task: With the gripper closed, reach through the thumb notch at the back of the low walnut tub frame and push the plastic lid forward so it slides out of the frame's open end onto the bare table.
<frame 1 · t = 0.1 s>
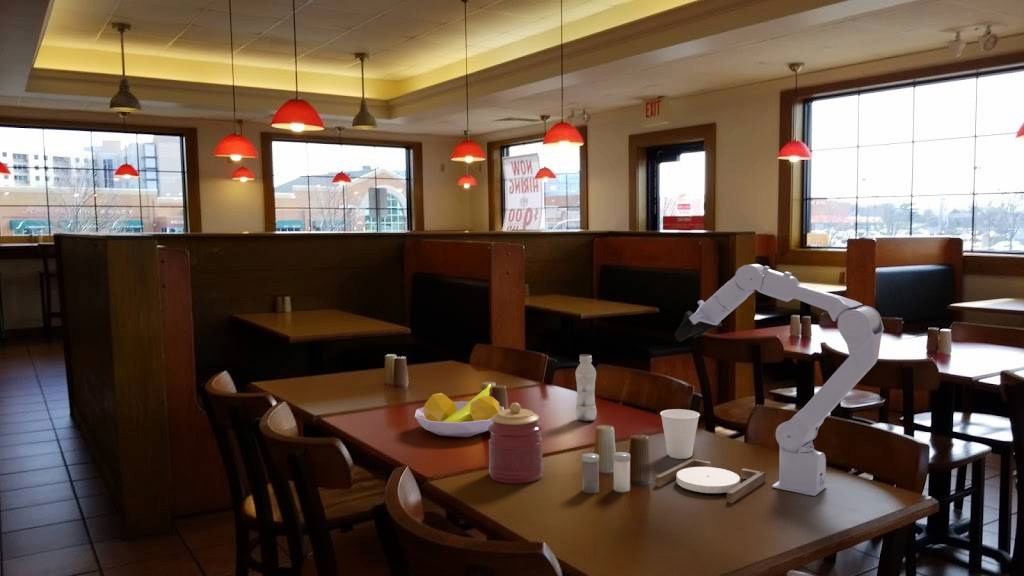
hand: (684, 336, 191), 32 cm above the table, tool tilted 50°, fingers open, 7 cm apart
tub frame: (709, 484, 178), on the table
canister: (516, 476, 186), on the table
plastic bottle: (586, 421, 238), on the table
salt shaker: (621, 489, 176), on the table
pepper shaker: (590, 490, 175), on the table
cup: (679, 456, 201), on the table
fruit bowl: (463, 431, 229), on the table
plastic lid: (707, 487, 177), on the table
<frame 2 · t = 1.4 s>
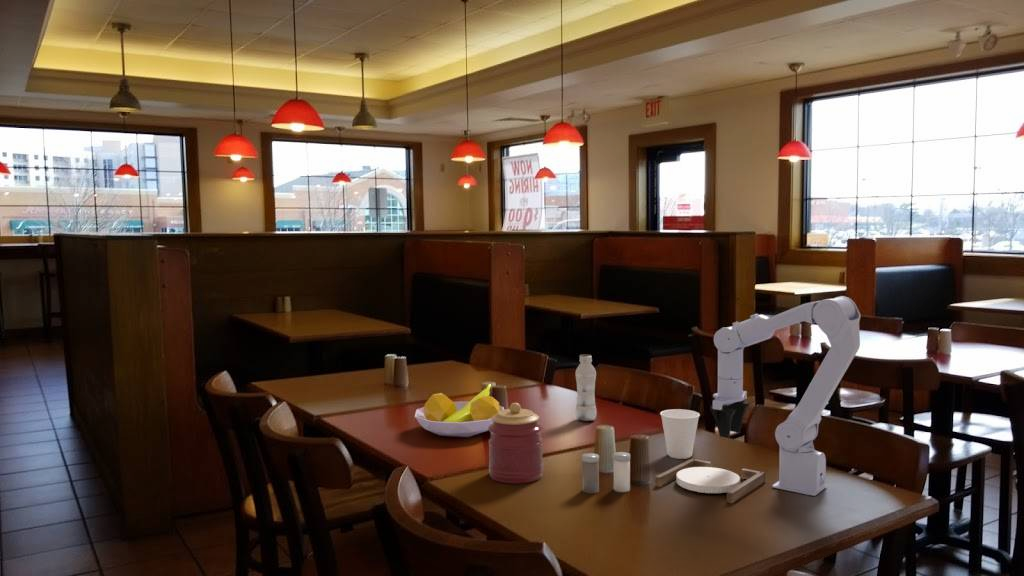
hand: (729, 434, 185), 9 cm above the table, tool pointing down, fingers open, 5 cm apart
nothing on the table moved.
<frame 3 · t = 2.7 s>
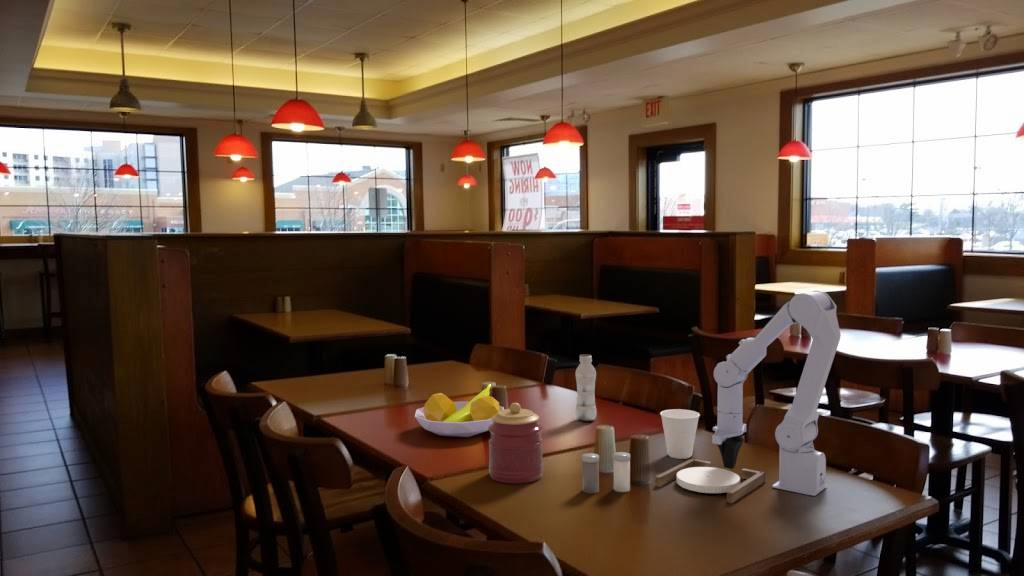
hand: (729, 467, 186), 1 cm above the table, tool pointing down, fingers closed
nothing on the table moved.
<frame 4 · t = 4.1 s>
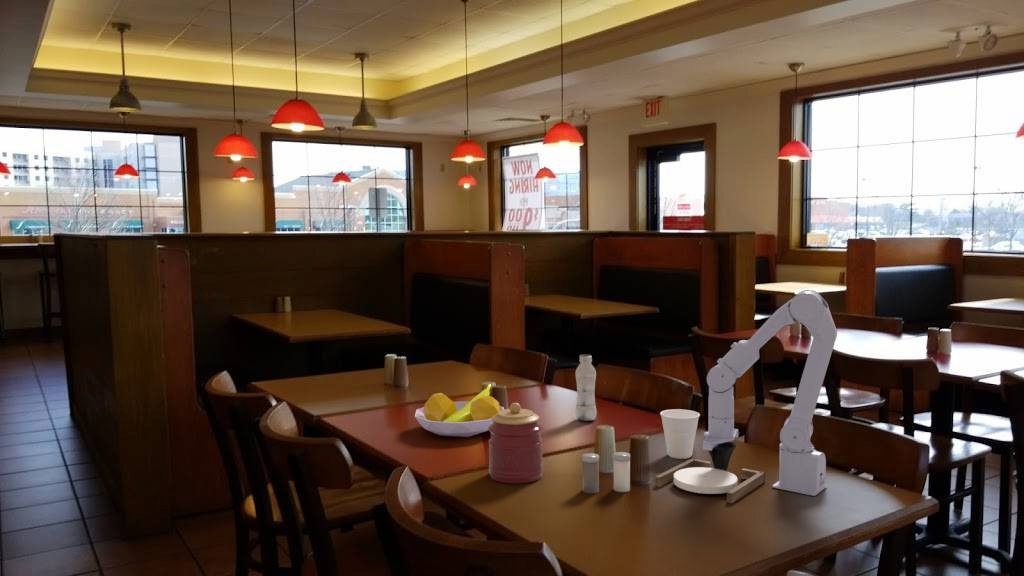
hand: (720, 473, 182), 1 cm above the table, tool pointing down, fingers closed
plastic lid: (705, 488, 176), on the table, touching gripper
everything else where it was.
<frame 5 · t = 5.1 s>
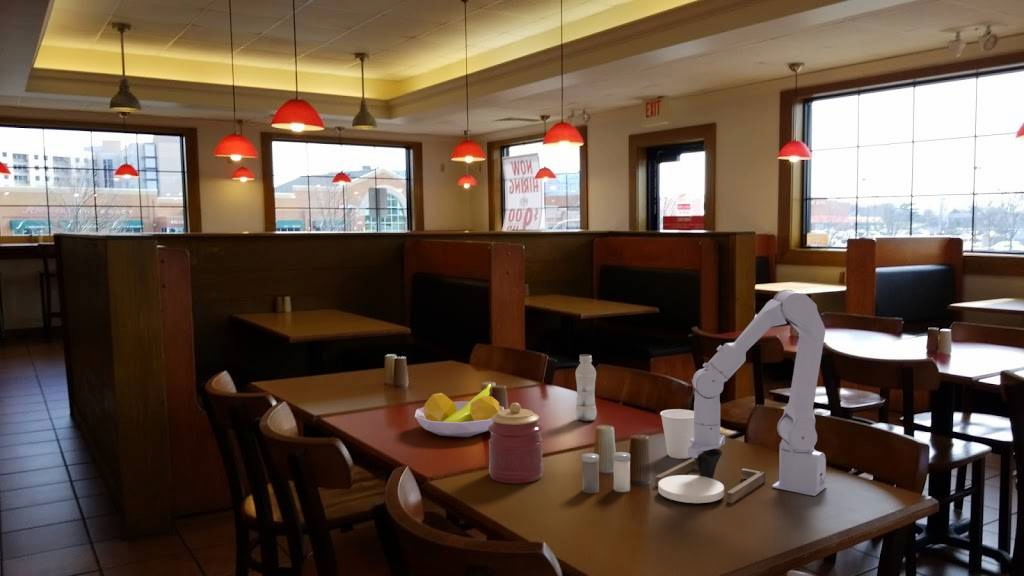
hand: (706, 481, 177), 1 cm above the table, tool pointing down, fingers closed
plastic lid: (690, 497, 171), on the table, touching gripper
everything else where it was.
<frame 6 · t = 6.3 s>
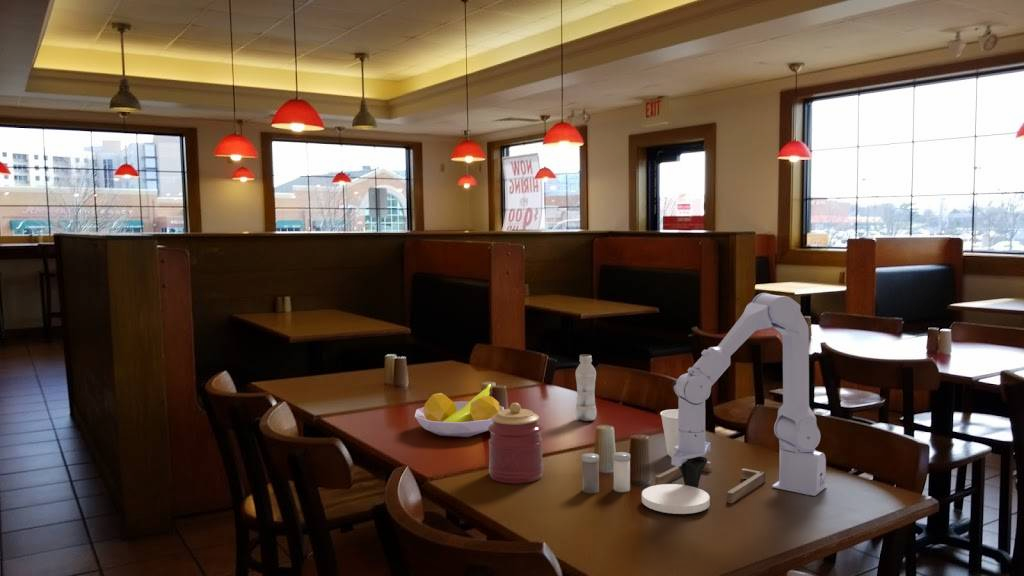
hand: (691, 490, 171), 1 cm above the table, tool pointing down, fingers closed
plastic lid: (675, 507, 165), on the table, touching gripper
everything else where it was.
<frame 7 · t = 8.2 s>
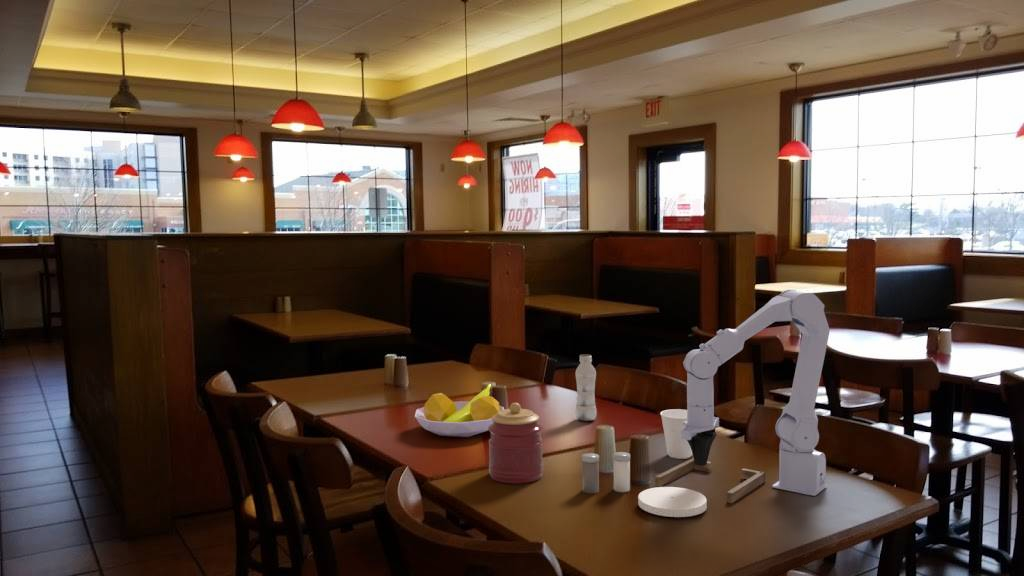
hand: (700, 464, 174), 6 cm above the table, tool pointing down, fingers closed
plastic lid: (672, 510, 164), on the table
everything else where it was.
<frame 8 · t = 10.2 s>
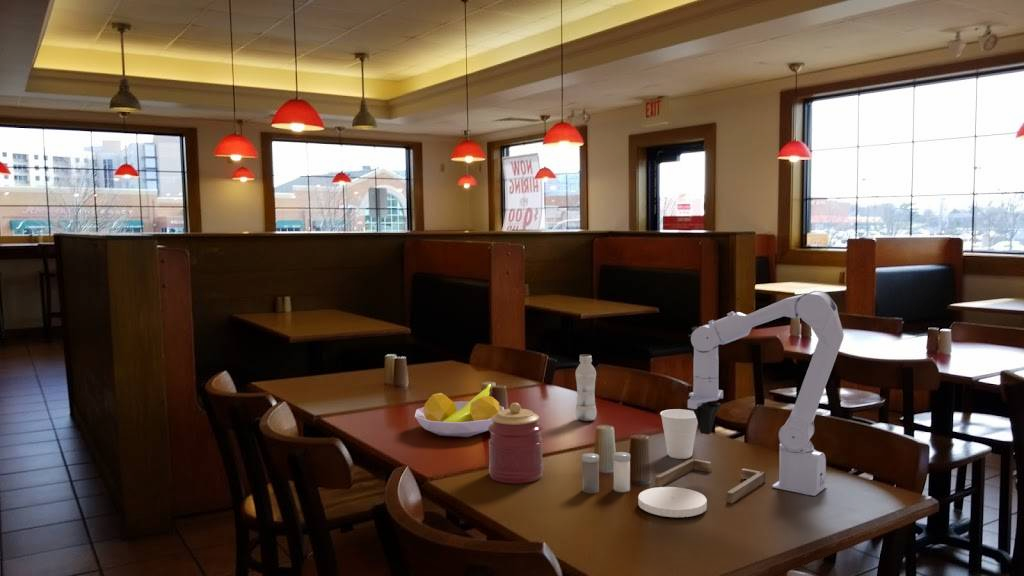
hand: (705, 433, 184), 10 cm above the table, tool pointing down, fingers closed
nothing on the table moved.
at the end: plastic lid inside the target area (4.6 cm from its centre), on the table; plastic lid moved 17.6 cm from its start; plastic lid touching table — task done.
